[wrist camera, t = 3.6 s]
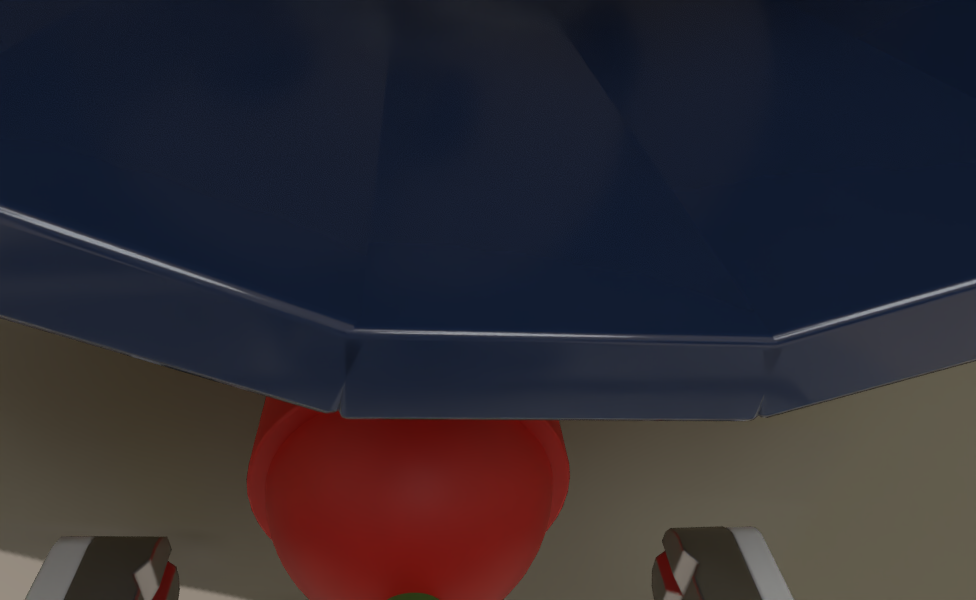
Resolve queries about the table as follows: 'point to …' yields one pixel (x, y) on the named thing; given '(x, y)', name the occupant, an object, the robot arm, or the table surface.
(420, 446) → the pepper
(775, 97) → the pot
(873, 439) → the table surface
